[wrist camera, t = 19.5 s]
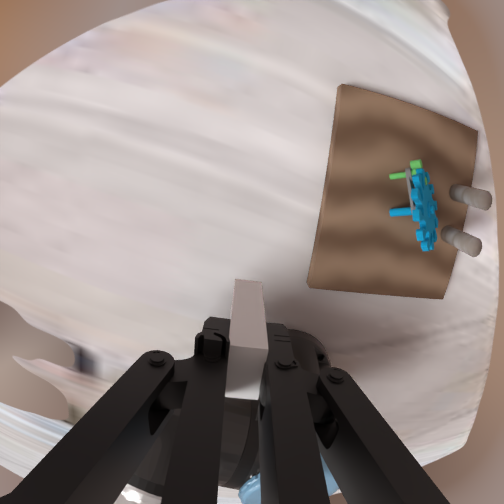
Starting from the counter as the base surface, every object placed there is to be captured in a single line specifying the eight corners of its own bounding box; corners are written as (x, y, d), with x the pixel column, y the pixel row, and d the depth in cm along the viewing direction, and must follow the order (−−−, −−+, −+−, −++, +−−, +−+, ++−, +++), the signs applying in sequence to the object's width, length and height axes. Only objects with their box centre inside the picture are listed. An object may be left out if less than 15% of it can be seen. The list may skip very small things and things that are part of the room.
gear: (444, 241, 36) (428, 261, 30) (406, 242, 40) (381, 261, 34) (434, 159, 34) (415, 157, 28) (395, 165, 39) (367, 165, 32)
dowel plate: (436, 294, 43) (467, 320, 34) (306, 281, 42) (320, 313, 33) (469, 131, 35) (509, 131, 26) (337, 87, 34) (361, 69, 25)
